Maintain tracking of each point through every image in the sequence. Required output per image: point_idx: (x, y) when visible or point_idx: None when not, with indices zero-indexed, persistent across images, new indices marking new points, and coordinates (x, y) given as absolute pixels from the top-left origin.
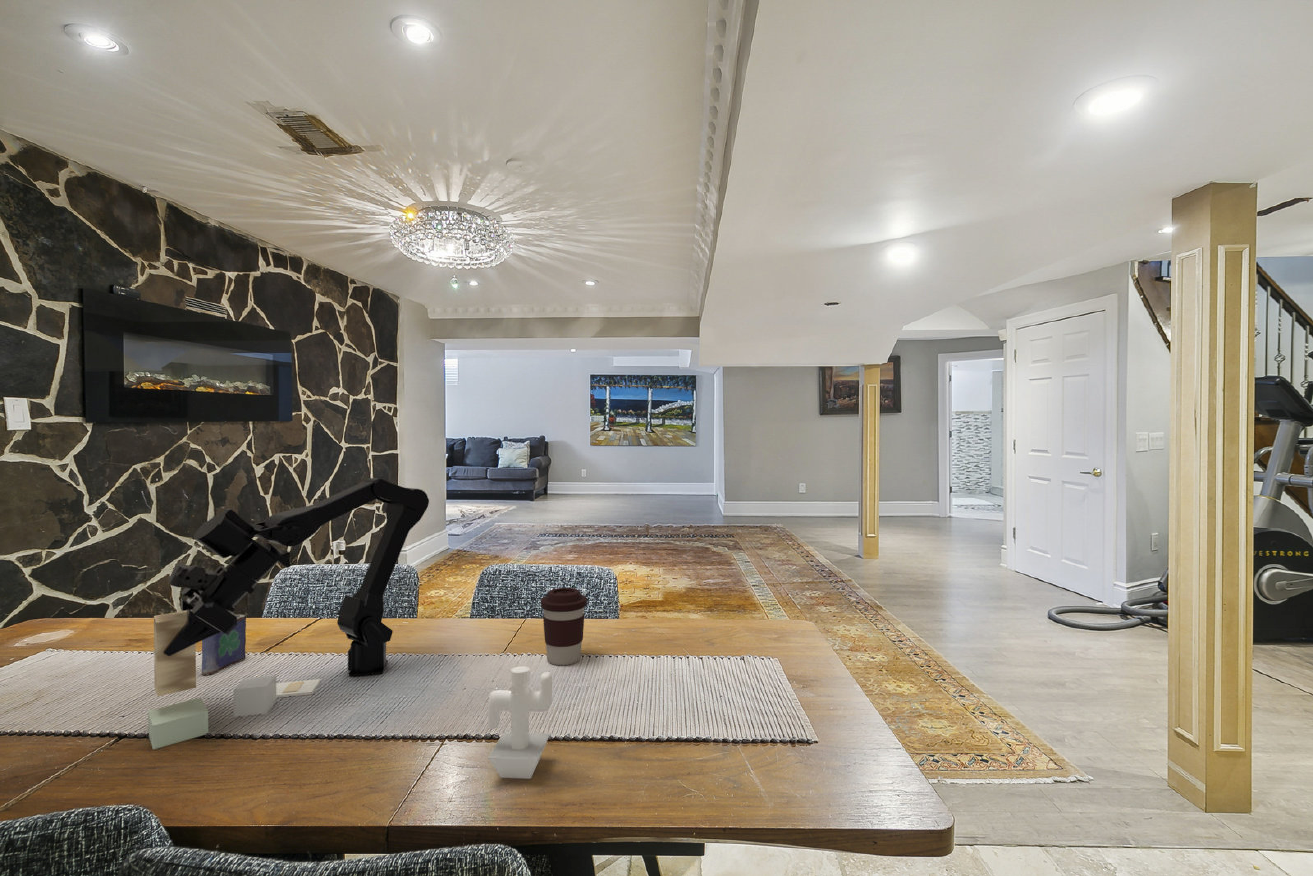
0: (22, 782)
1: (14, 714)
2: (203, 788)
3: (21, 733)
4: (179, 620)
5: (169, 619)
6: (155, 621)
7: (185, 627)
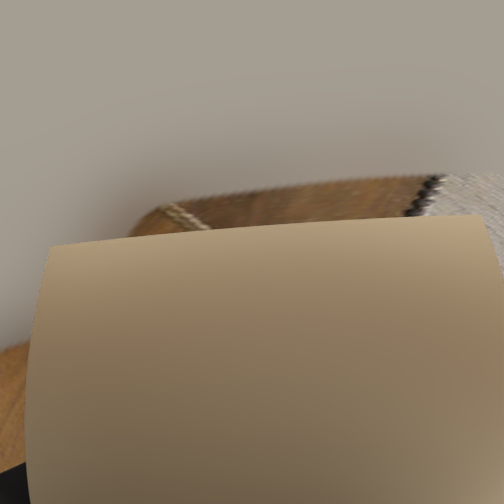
0: (223, 204)
1: (496, 176)
2: (23, 393)
3: (430, 184)
4: (41, 484)
5: (72, 399)
6: (178, 241)
7: (6, 473)
